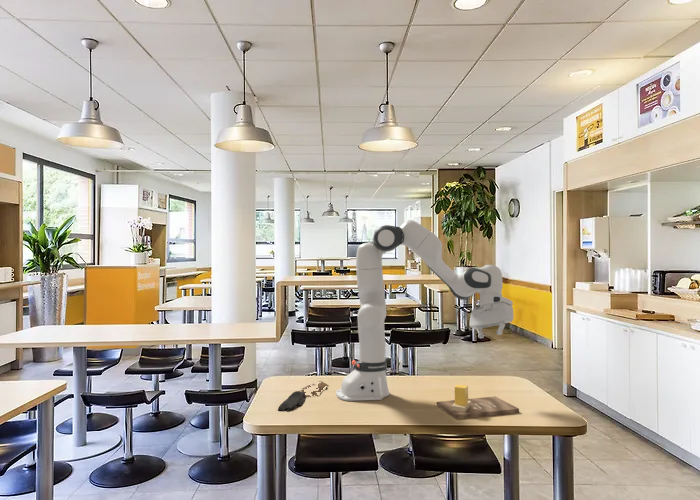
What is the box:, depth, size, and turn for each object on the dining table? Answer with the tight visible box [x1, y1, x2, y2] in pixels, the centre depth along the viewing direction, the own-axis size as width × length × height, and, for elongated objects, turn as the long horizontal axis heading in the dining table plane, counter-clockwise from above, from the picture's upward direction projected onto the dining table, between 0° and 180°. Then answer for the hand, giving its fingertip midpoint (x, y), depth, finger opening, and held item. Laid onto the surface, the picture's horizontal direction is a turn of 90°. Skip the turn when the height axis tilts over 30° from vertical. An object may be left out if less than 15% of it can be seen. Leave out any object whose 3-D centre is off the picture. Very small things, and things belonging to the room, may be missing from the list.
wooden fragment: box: [300, 380, 329, 398], centre depth 216 cm, size 26×11×1 cm, turn 166°
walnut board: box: [435, 395, 520, 420], centre depth 188 cm, size 26×16×2 cm, turn 106°
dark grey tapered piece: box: [277, 390, 307, 412], centre depth 196 cm, size 22×7×3 cm, turn 168°
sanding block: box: [452, 383, 471, 412], centre depth 185 cm, size 9×5×8 cm, turn 153°
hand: (490, 336), depth 196 cm, fingers open, 8 cm apart
